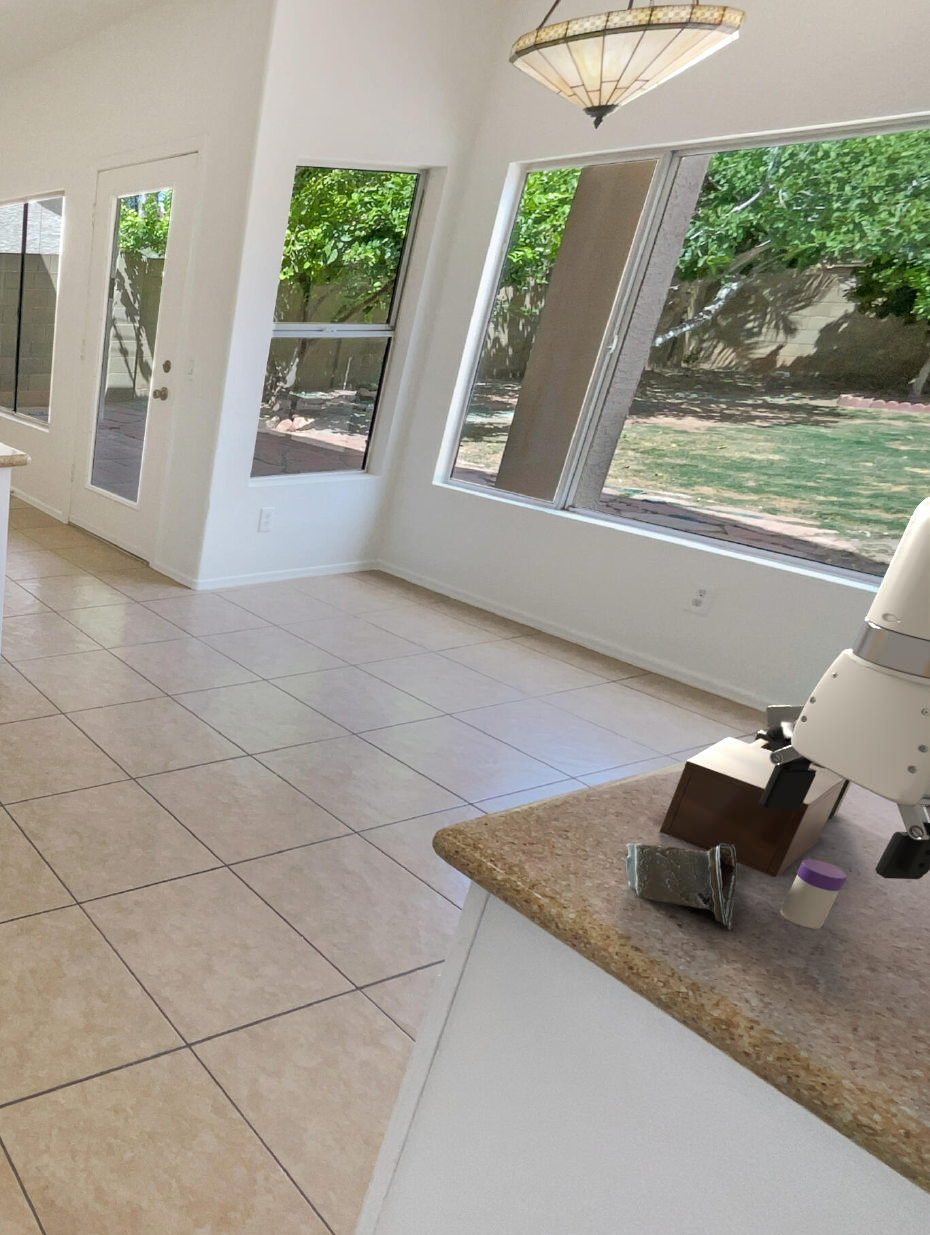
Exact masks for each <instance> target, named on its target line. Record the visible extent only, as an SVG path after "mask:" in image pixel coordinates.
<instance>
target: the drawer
mask: <svg viewBox="0 0 930 1235" xmlns="http://www.w3.org/2000/svg"><path fill="white" fill-rule="evenodd" d="M766 732H767V731H766V730H760V731H758V732H757V733H756V734H755V738H754V740H753V742H752V743H751V744H752V745H755V746H758V747H761V748H764V749H767V750H770V751H772V750H771V747H770V745H769V742H768V740H767V737H766ZM813 765H815V766H818V767H821V768H824V767H822V766H820V765H818V764H813ZM824 769H825V768H824ZM852 783H853V782H851V781H849V780H847V779H846V781H845V782H844V785H843V787H842V789H841V791H840V793H839V795H838V798H837V800H836V802H835V804H834V806H833V808H832V810H831V813H830V815H829V817H828V819H829V820H834V818H836V817H837V815H838V813H839V811H840V808H841V807H842V804H843V802H844V800H845V798H846V796H847V794H848V791H849V789H850V787H851V785H852Z"/></svg>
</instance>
